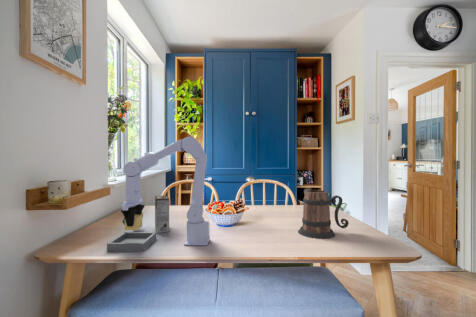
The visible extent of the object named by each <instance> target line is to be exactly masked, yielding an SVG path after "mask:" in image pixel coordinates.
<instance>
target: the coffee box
mask: <svg viewBox="0 0 476 317" xmlns="http://www.w3.org/2000/svg"><path fill="white" fill-rule="evenodd" d="M154 227H155V232H156V234H158V233H159V234H160V233H168V232H170V198H169V195H155V196H154Z"/></svg>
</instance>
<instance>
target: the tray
mask: <svg viewBox="0 0 476 317" xmlns="http://www.w3.org/2000/svg"><path fill="white" fill-rule="evenodd" d="M154 240H155V241H156V240H157V233H156V231H155V232H150V231H149V232H147V231H146V232H145V231H142V232H141V231H136V232H135V231H124V232H123V233H121V234H120V235H118V236H117V237H114V238H113V239H112V240H110V241H109V242H107V243H106V252H144V251H146V249H147V248H148V247H149V246H150V245H151V244H152V243H154V242H155V241H154ZM153 241H154V242H153Z"/></svg>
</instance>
